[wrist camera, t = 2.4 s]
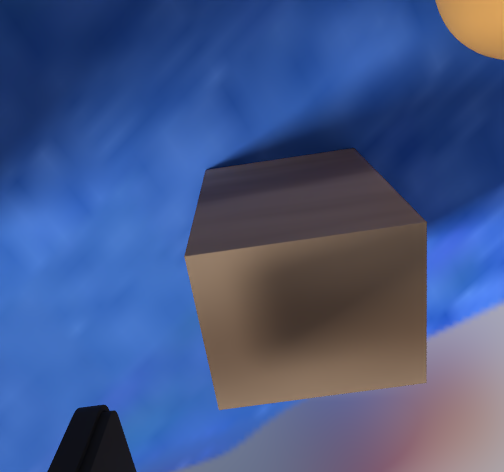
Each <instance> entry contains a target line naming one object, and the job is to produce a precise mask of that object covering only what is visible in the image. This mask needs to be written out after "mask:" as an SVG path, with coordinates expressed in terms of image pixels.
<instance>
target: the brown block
mask: <svg viewBox="0 0 504 472" xmlns="http://www.w3.org/2000/svg"><path fill="white" fill-rule="evenodd" d="M184 257H185V261H186V265H187V270H188V274H189V279H190V283H191V288H192V292H193V297H194V301H195V305H196V310H197V314H198V319H199V323H200V328H201V332H202V336H203V341H204V345H205V350H206V354H207V359H208V363H209V368H210V372H211V376H212V381H213V385H214V390H215V394H216V399H217V403H218V407H219V410H222V409H230V408H238V407H245V406H253V405H261V404H268V403H276V402H284V401H291V400H299V399H307V398H314V397H322V396H330V395H336V394H345V393H352V392H360V391H368V390H375V389H383V388H391V387H399V386H406V385H414V384H421V383H426V327H427V222H426V221H425V220H424V219H423V218H422V217H421V216H420V215H419V214H418V213H417V212H416V211H415V210H414V209H413V208H412V207H411V205H410V204H409V203H408V202H407V201H406V200H405V199H404V198H403V197H402V196H401V195H400V194H399V193H398V192H397V191H396V190H395V189H394V188H393V187H392V186H391V185H390V184H389V183H388V182H387V181H386V180H385V179H384V178H383V177H382V176H381V175H380V174H379V173H378V172H377V171H376V170H375V169H374V168H373V167H372V166H371V165H370V164H369V163H368V162H367V161H366V160H365V159H364V158H363V157H362V156H361V155H360V154H359V152H358V151H357V150H356V149H355V148H350V149H343V150H337V151H330V152H323V153H316V154H310V155H303V156H296V157H290V158H283V159H276V160H269V161H263V162H256V163H249V164H243V165H236V166H229V167H222V168H216V169H209V170H206V171H205V175H204V179H203V183H202V187H201V191H200V195H199V199H198V203H197V207H196V212H195V216H194V220H193V224H192V228H191V232H190V236H189V240H188V244H187V248H186V252H185V256H184Z"/></svg>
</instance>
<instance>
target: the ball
mask: <svg viewBox="0 0 504 472" xmlns="http://www.w3.org/2000/svg"><path fill="white" fill-rule="evenodd" d="M435 1H436V4H437V7H438V11H439V13H440V15H441V17H442V19H443V21H444V23H445V25H446V26H447V28H448V29H449V31H450V32H451V33H452V34H453V35H454V36H455V38H456V39H457V40H459V41H460V42H461V43H462V44H464V45H465V46H466V47H468V48H470V49H471V50H473V51H475V52H477V53H479V54H482V55H484V56H487V57H491V58H496V59H500V60H504V0H435Z"/></svg>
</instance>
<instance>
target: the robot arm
mask: <svg viewBox="0 0 504 472" xmlns="http://www.w3.org/2000/svg"><path fill="white" fill-rule="evenodd" d="M48 472H136V469H135V466H134V463H133V460H132V457H131V454H130V451H129V448H128V444H127V441H126V438H125V435H124V432H123V429H122V426H121V423H120V420H119V417H118V414H117V412H116V411H109V409H108V407H107V406H106V405H98V406H90V407H83V408H78V409H77V410H76V411H75V413H74V415H73V417H72V419H71V421H70V423H69V426H68V428H67V430H66V432H65V434H64V437H63V439H62V441H61V443H60V445H59V448H58V450H57V452H56V454H55V456H54V459H53V461H52V463H51V465H50V467H49V470H48Z"/></svg>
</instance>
